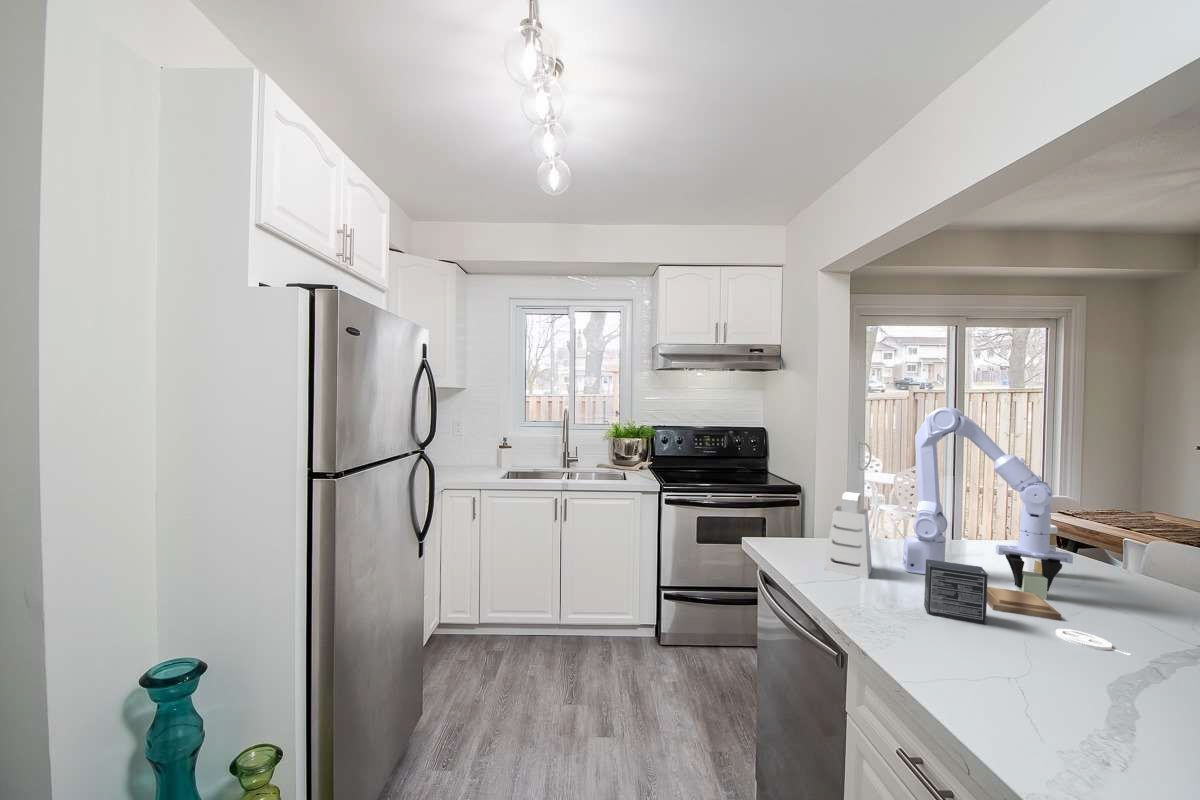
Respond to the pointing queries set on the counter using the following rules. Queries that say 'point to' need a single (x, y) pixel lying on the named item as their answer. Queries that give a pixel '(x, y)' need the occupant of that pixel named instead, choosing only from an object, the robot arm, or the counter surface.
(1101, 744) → the counter surface
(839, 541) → the grater
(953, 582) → the small box
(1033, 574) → the sage block
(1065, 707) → the counter surface
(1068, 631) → the pendant
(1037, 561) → the sprinkles bottle
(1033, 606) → the walnut base
